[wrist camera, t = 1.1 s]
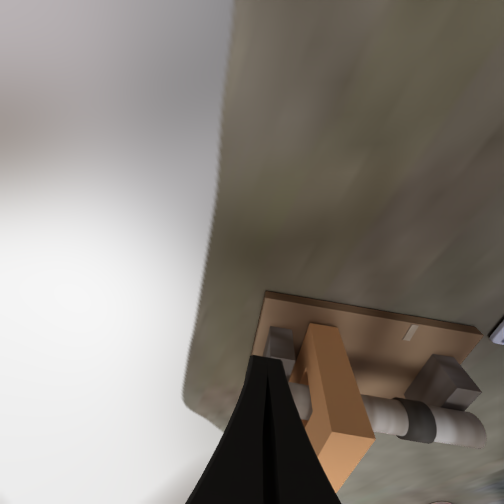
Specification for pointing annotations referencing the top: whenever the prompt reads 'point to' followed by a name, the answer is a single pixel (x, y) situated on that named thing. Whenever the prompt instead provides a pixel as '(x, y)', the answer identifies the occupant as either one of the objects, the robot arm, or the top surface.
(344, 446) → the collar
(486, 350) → the top surface
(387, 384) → the pipe rig
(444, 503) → the smoothie
